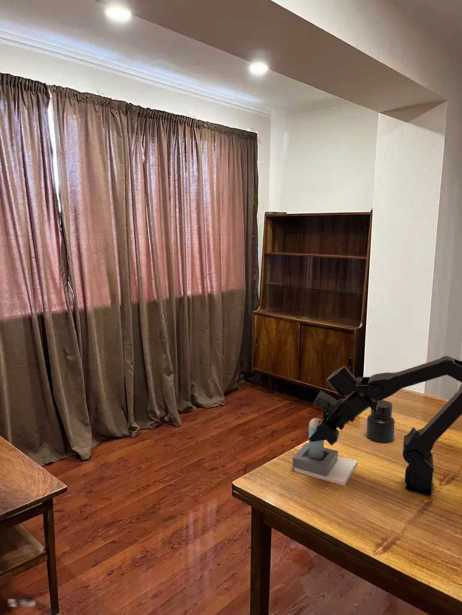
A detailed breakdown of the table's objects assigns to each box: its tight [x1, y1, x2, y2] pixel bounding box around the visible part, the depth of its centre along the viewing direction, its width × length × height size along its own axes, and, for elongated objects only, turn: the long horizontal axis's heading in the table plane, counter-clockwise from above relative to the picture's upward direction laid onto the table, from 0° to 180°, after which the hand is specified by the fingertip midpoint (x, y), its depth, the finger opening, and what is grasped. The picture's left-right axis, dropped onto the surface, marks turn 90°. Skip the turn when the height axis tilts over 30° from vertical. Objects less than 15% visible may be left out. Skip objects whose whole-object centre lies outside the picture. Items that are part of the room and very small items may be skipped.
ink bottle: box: [365, 399, 396, 443], centre depth 149 cm, size 10×9×12 cm
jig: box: [292, 442, 358, 487], centre depth 131 cm, size 16×13×4 cm
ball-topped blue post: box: [308, 417, 325, 461], centre depth 131 cm, size 4×4×12 cm
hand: (311, 436), depth 131 cm, fingers closed on ball-topped blue post, 4 cm apart
